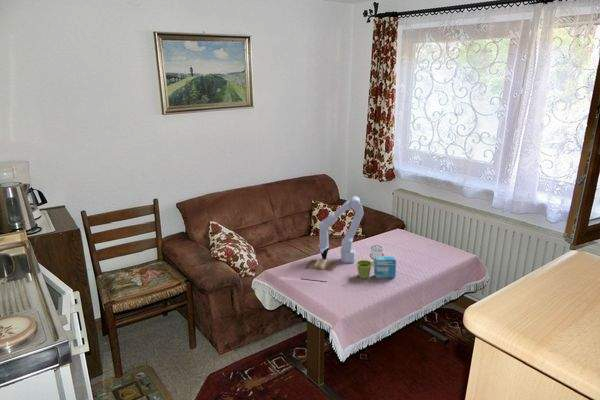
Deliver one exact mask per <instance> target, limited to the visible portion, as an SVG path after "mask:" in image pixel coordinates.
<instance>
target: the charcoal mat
mask: <svg viewBox="0 0 600 400" xmlns="http://www.w3.org/2000/svg"><path fill="white" fill-rule="evenodd" d="M301 280H303V281H313V282H318V283H319V282H321V283H327V282H328V281H327V280H326V281H325V280H316V279H308V278H301Z"/></svg>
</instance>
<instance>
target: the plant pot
mask: <svg viewBox="0 0 600 400" xmlns="http://www.w3.org/2000/svg"><path fill="white" fill-rule="evenodd" d="M355 262H356V263H355V265H356V266H357V273H358V277H359V278H360V279H369V278H370V273H371V267H372V265H373V263H372V261H370V260H367V259H361V260H357V261H355Z"/></svg>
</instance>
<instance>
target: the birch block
mask: <svg viewBox="0 0 600 400" xmlns="http://www.w3.org/2000/svg"><path fill="white" fill-rule="evenodd" d="M317 260H318V261H317V262H316V264H315V268H318V269H324V268H325V267H326V265H327V263H328V261H329V260H328V259H327V258H326V259H322V258H318V259H317Z"/></svg>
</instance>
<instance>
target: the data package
mask: <svg viewBox="0 0 600 400" xmlns="http://www.w3.org/2000/svg"><path fill="white" fill-rule="evenodd" d="M373 261H374V262H373V263H374V264H373V265H374V268H373V269H374V270H373V271H374V272H373V273H374V276H375V278H377V279H393V278H396V276H397V275H396V274H397V273H396V272H397V271H396V270H397V261H396V258H395V257H394V256H375V258H374V260H373Z"/></svg>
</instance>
